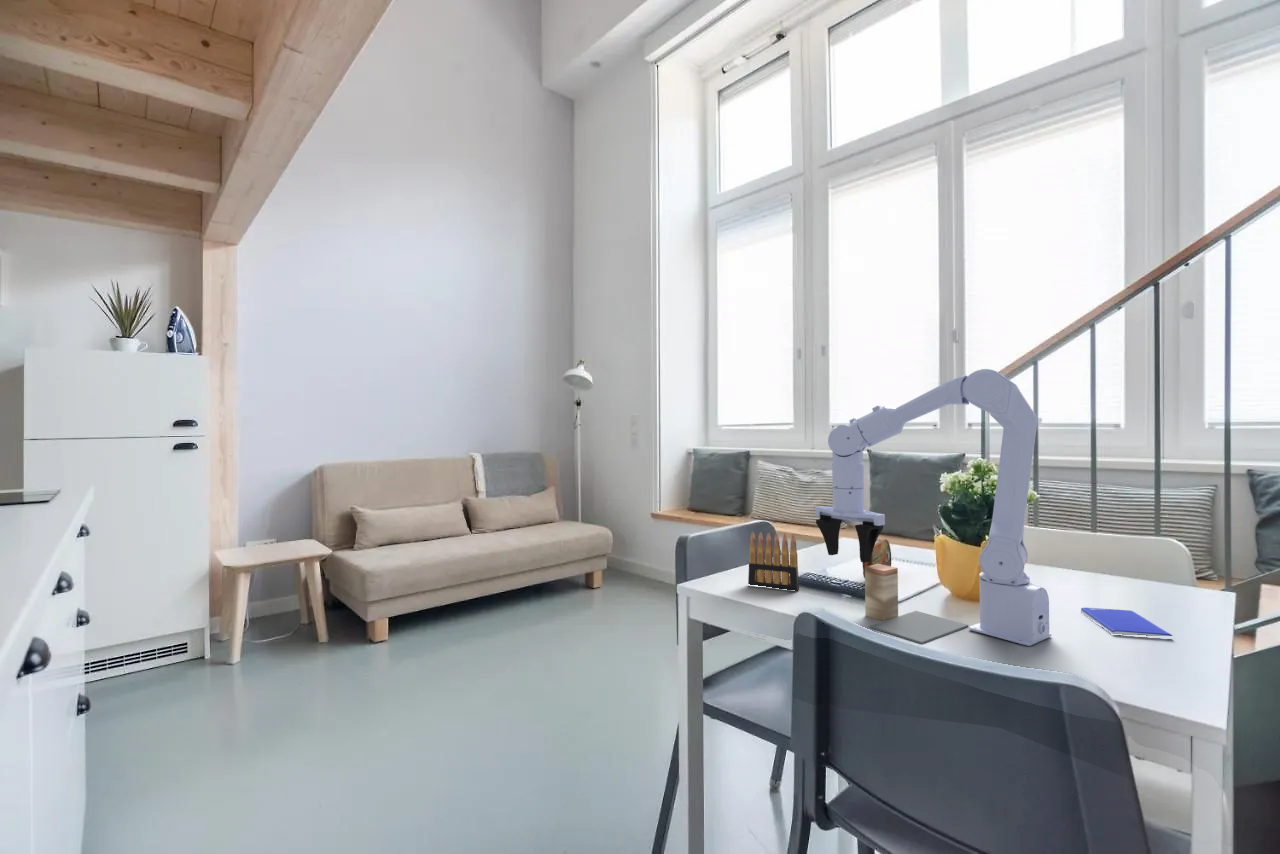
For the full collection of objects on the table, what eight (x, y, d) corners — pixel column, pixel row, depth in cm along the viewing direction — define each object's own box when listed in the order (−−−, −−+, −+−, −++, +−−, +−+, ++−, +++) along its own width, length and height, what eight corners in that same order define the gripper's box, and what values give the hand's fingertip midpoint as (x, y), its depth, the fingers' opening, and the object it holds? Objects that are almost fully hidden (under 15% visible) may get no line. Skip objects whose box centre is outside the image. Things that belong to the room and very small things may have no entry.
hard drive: (1080, 607, 109) (1112, 629, 98) (1133, 610, 107) (1173, 633, 95) (1080, 615, 109) (1112, 639, 98) (1133, 619, 107) (1173, 643, 95)
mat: (968, 626, 103) (968, 624, 103) (921, 643, 95) (921, 642, 95) (916, 612, 111) (916, 610, 111) (869, 627, 103) (869, 625, 103)
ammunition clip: (748, 586, 130) (747, 531, 130) (750, 584, 132) (749, 530, 132) (797, 591, 125) (796, 535, 125) (799, 589, 127) (798, 533, 127)
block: (898, 617, 108) (897, 567, 108) (884, 621, 106) (884, 571, 106) (878, 611, 112) (878, 563, 112) (865, 615, 109) (864, 566, 109)
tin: (874, 586, 129) (874, 547, 129) (859, 584, 131) (859, 546, 131) (892, 572, 141) (892, 536, 141) (879, 570, 143) (878, 535, 143)
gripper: (804, 486, 118) (805, 554, 119) (867, 492, 106) (868, 568, 106) (827, 483, 122) (828, 549, 122) (891, 489, 110) (892, 562, 110)
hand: (848, 557), depth 115 cm, fingers open, 7 cm apart
